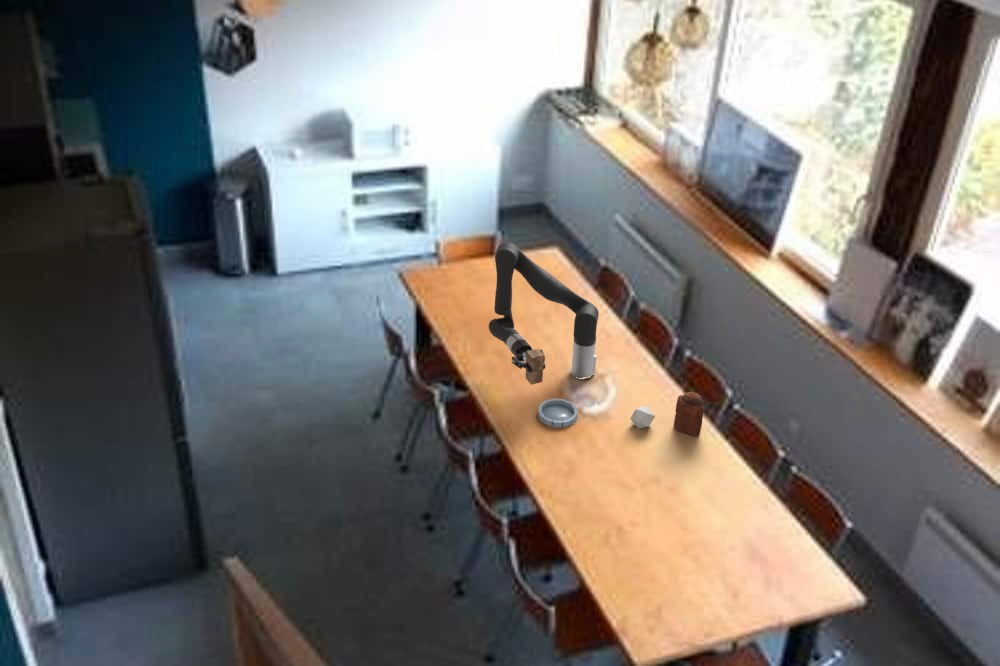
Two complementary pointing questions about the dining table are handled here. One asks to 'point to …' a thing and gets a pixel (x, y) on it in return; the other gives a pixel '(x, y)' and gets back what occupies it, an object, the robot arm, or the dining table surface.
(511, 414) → the dining table surface
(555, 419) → the bowl
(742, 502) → the dining table surface
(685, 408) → the wooden figurine
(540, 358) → the walnut block
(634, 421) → the die
